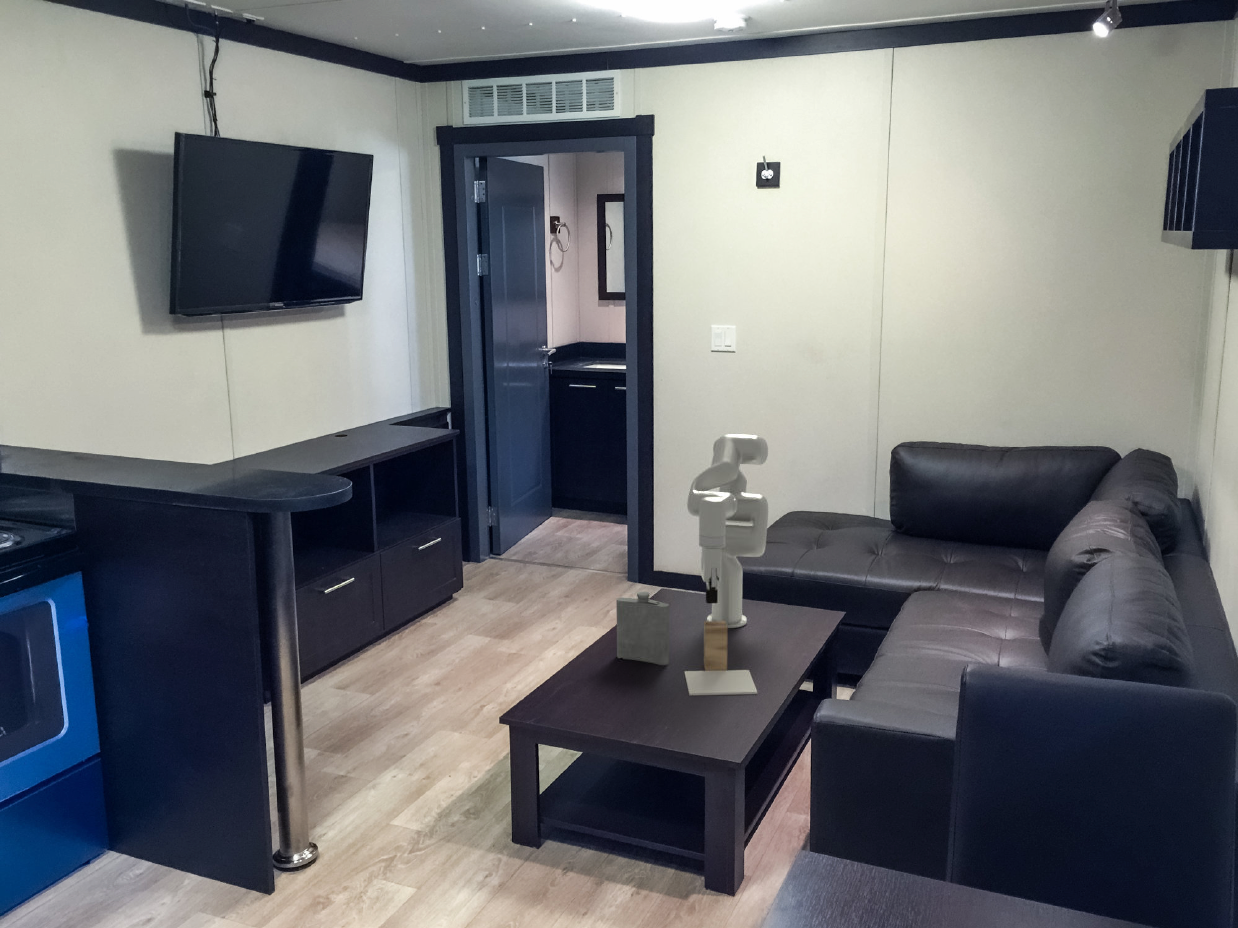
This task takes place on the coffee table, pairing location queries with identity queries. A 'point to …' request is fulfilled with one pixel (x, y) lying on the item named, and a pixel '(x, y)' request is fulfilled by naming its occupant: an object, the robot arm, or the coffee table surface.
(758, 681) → the coffee table surface
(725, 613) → the robot arm
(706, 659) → the brown wooden block
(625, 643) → the hip flask
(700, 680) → the mat
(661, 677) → the coffee table surface
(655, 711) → the coffee table surface
